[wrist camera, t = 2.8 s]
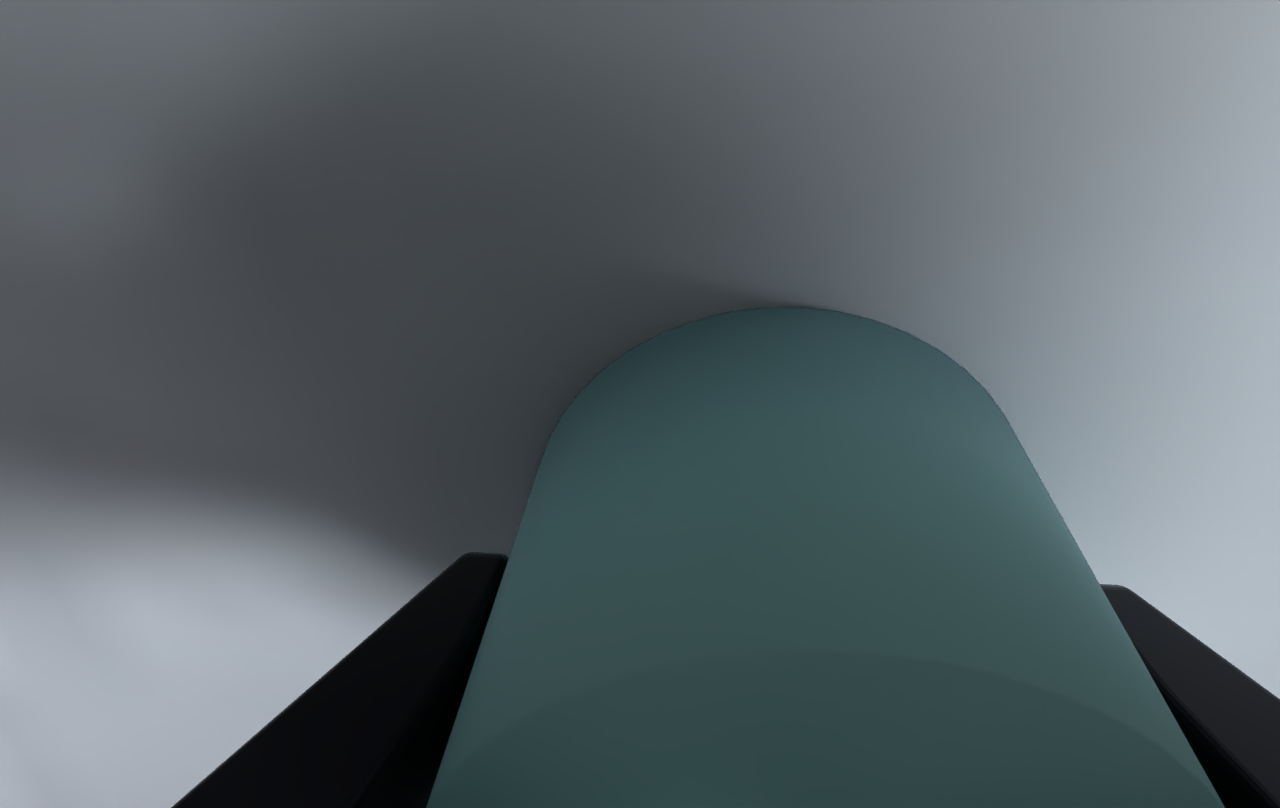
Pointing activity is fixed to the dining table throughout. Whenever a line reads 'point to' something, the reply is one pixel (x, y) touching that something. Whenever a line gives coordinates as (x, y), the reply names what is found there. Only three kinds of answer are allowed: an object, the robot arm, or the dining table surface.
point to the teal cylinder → (802, 598)
